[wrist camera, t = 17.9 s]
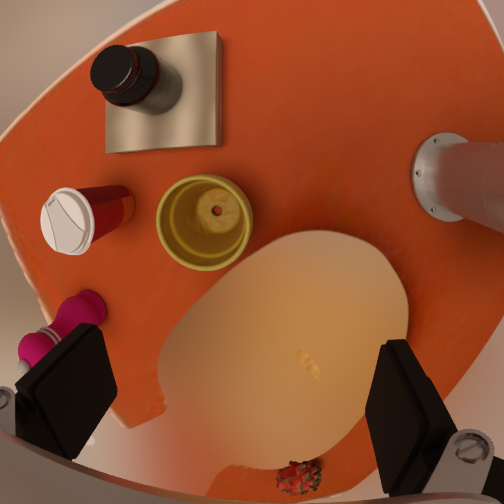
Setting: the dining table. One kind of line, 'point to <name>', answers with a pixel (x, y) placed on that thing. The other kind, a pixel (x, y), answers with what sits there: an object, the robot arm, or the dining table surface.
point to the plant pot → (204, 222)
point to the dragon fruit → (299, 478)
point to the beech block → (187, 107)
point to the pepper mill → (60, 327)
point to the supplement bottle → (136, 79)
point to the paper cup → (84, 216)
